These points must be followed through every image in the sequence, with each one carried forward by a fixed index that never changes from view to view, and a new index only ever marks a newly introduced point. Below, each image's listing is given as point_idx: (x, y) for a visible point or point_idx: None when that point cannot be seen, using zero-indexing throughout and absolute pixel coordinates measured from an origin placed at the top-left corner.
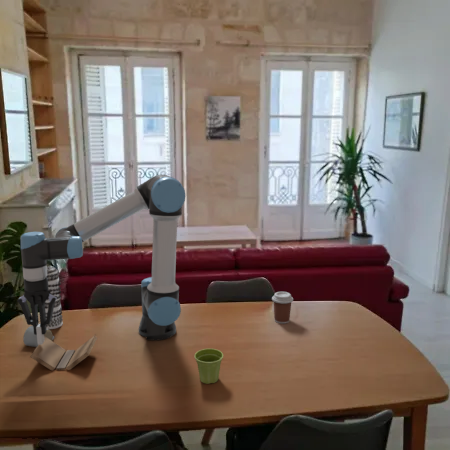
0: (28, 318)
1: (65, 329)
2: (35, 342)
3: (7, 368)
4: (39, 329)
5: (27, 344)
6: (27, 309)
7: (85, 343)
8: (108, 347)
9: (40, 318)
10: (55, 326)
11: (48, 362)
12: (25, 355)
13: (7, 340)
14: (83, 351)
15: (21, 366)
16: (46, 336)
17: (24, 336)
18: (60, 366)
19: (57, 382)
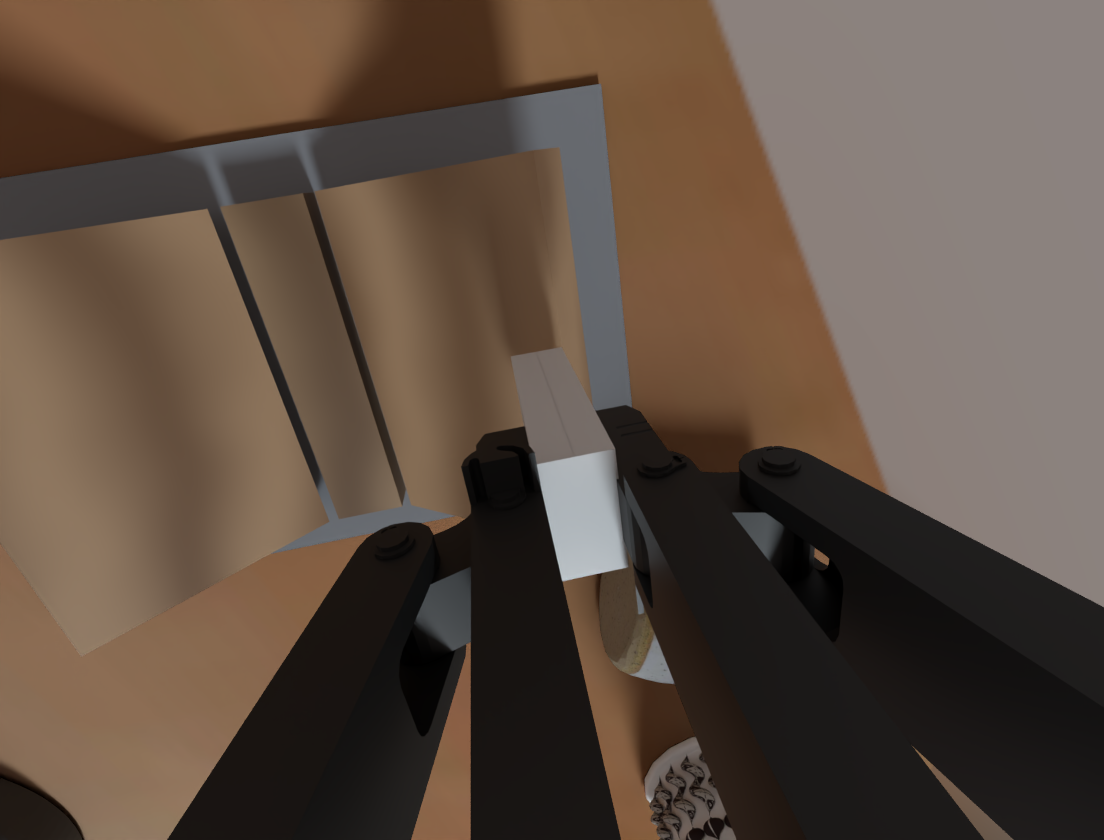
0: (846, 526)
1: None
2: None
3: (769, 228)
4: (549, 435)
5: None
6: (1077, 789)
7: (191, 558)
8: (153, 624)
9: (546, 586)
10: (672, 763)
11: (377, 203)
12: (713, 430)
13: None
14: (7, 366)
15: (673, 272)
16: (626, 606)
17: None
18: (282, 231)
19: (195, 8)
